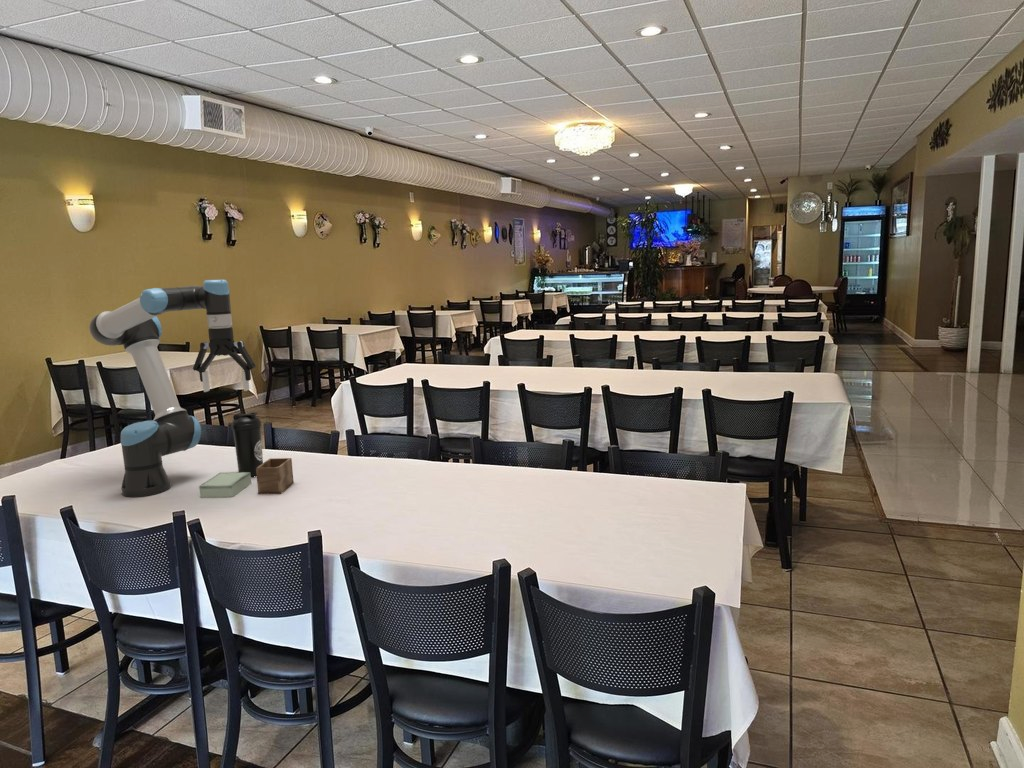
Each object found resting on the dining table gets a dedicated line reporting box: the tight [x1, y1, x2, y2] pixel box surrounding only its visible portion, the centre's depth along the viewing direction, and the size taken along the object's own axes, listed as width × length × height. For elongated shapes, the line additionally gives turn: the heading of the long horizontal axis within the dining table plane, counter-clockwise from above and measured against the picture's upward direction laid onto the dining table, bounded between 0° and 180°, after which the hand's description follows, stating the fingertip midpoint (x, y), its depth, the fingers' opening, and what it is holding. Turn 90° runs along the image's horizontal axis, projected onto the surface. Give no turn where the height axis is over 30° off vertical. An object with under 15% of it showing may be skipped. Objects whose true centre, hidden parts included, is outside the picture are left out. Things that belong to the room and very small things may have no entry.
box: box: [256, 457, 295, 495], centre depth 244 cm, size 12×8×9 cm, turn 177°
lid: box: [198, 471, 252, 498], centre depth 244 cm, size 15×11×4 cm
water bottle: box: [231, 411, 264, 478], centre depth 260 cm, size 10×10×23 cm
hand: (226, 390), depth 237 cm, fingers open, 13 cm apart
